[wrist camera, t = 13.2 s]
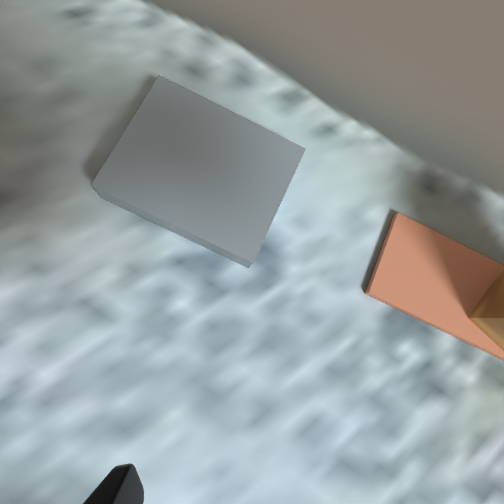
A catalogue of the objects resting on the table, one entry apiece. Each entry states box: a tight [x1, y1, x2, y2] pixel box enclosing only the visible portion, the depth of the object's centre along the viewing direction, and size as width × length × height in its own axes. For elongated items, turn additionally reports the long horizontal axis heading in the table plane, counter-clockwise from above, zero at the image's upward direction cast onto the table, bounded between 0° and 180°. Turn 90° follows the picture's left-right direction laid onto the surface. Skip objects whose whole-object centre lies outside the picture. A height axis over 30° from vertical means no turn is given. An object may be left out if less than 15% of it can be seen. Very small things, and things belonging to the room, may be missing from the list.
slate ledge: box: [91, 75, 305, 268], centre depth 21 cm, size 10×8×2 cm
